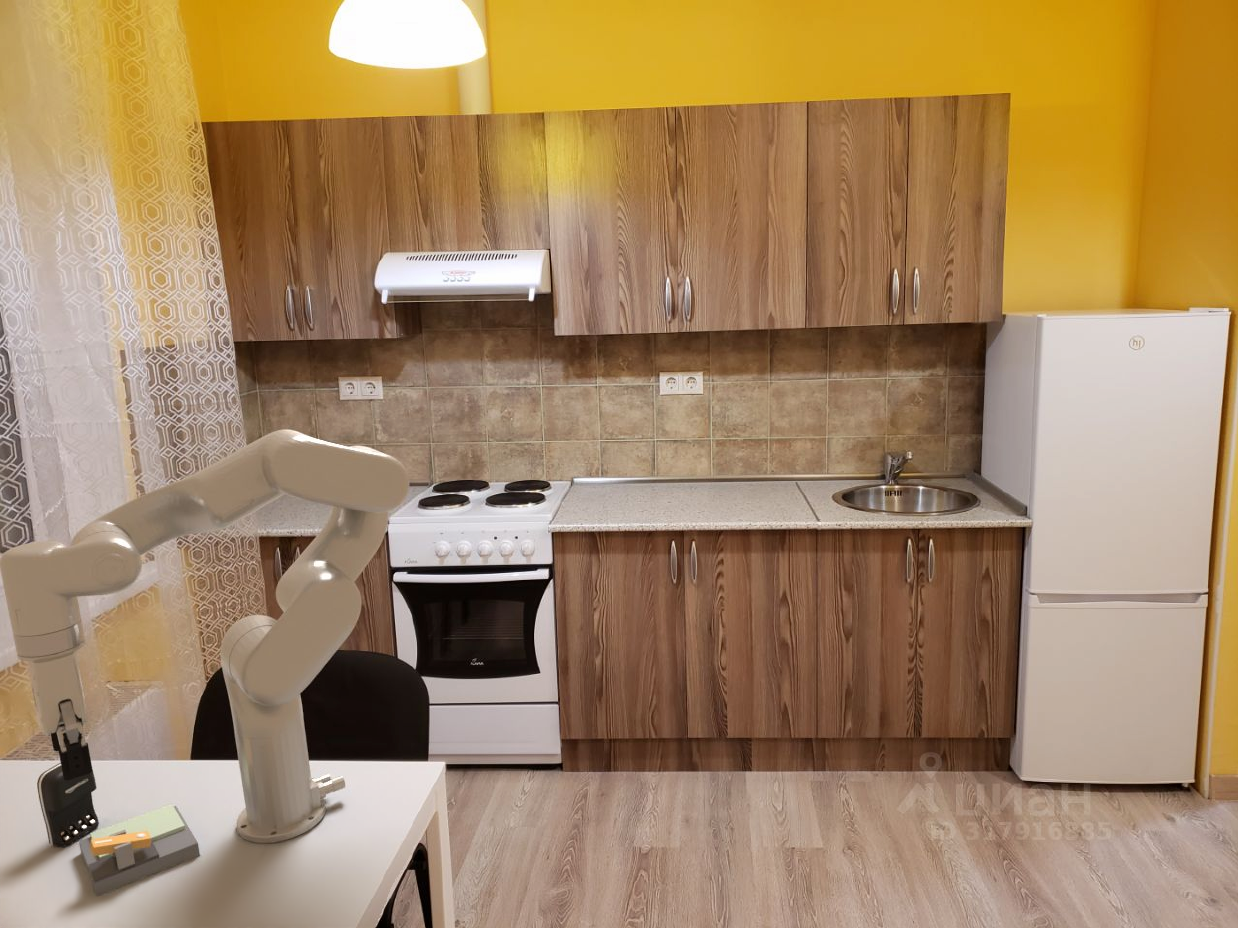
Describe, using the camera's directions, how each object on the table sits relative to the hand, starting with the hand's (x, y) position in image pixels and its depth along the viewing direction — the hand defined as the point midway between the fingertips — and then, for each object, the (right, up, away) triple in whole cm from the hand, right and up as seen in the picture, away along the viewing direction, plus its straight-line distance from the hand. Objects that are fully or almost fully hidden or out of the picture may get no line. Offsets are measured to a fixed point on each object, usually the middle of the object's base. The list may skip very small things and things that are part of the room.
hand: (72, 761), depth 122 cm
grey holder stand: (+4, -17, +10) cm, 20 cm away
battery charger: (-8, -16, +16) cm, 24 cm away
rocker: (+4, -13, +5) cm, 14 cm away
